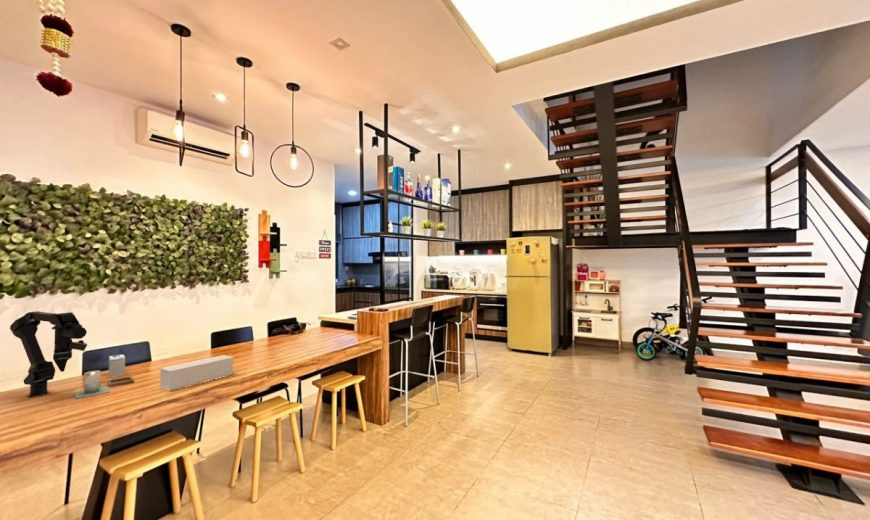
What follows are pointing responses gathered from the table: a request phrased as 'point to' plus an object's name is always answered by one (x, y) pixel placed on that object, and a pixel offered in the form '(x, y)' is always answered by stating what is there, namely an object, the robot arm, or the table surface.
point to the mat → (102, 390)
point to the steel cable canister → (92, 382)
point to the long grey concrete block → (195, 372)
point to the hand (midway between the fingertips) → (62, 369)
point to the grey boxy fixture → (116, 366)
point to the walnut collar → (120, 382)
